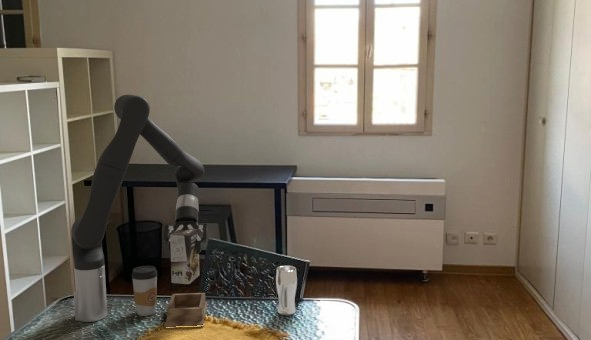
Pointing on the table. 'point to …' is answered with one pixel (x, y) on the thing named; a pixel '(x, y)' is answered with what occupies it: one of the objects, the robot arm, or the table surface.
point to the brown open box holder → (186, 310)
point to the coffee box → (184, 256)
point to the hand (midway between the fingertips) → (184, 253)
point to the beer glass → (286, 289)
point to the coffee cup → (145, 289)
